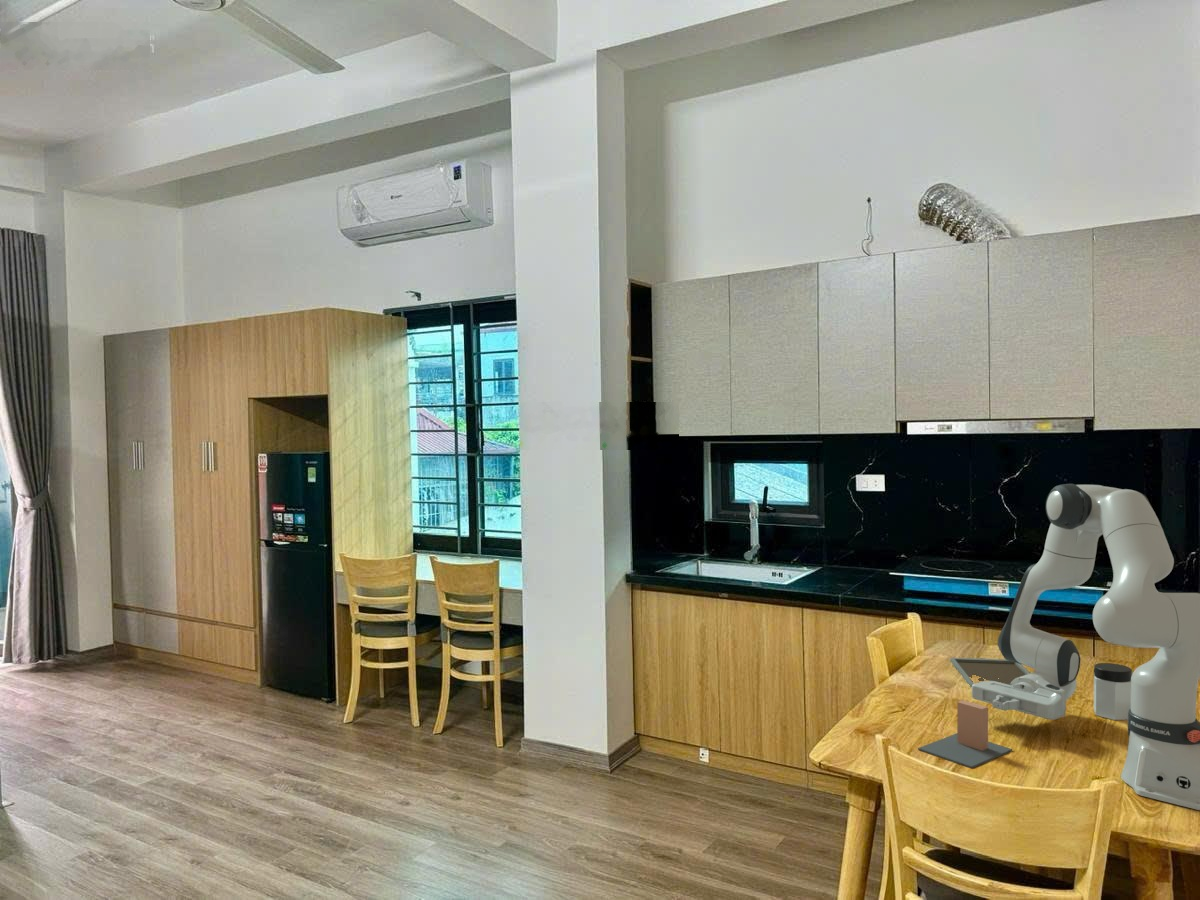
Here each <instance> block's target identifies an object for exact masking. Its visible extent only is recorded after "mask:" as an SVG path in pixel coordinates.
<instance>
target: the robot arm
mask: <svg viewBox="0 0 1200 900" xmlns="http://www.w3.org/2000/svg"><path fill="white" fill-rule="evenodd" d="M1045 513H1046V516H1047V518H1048V520H1049V522H1050V524H1049V528H1048V531H1047V534H1046V539H1045V543H1044V549H1043V552H1042V555H1041V557H1040V559H1039V560H1038V562H1037V563H1033V564H1031V565H1029V566H1028V568H1027V569H1026V570H1025V572H1024V573H1023V576H1022V578H1021V581H1020V583H1019V586H1018V588H1017V592H1016V595H1015V597H1014V600H1013V603H1012V605H1011V609H1010V611H1009V614H1008V616H1007V619H1006V621H1005V623H1004V626H1003V627H1002V629H1001V631H1000V633H999V634H998V639H997V647H998V650H999V651H1000V653H1001V655H1002V657H1004V659H1006V660H1008V661H1012V662H1015V663H1019V664H1022V665H1023V666H1026V667H1030V668H1032V669H1034V671H1033V672H1030V673H1031V674H1027V675H1024V676H1021V677H1018V678H1016V679H1014V680H1013V681H1012V682H1011V684H1010V685H1008V684H1004V683H1000V682H996V681H982V682H978V683H974V684H972V688H971V697H972V698H973V699H974V700H975V701H980V702H984V703H988V704H990V705H992V708H993V709H994V708H995V709H998V710H1001V711H1005V712H1006V711H1008V710H1009V711H1011V710H1012V711H1017V712H1020V713H1023V714H1026V715H1027V714H1028V715H1032V716H1035V717H1039V718H1042V719H1046V720H1053V721H1054V720H1057V719H1061V718H1063V717H1065V716H1066V710H1067V700H1069V699H1070V698H1071V697H1072V696H1073V694H1074V693H1075V692H1076V689H1077V684H1078V683H1077V682H1078V681H1077V678H1078V675H1079V671H1080V667H1081V655H1080V652H1079V651H1078V650H1079V649H1078V647H1077V645H1076V644H1075V643H1074V642H1073V641H1072V640H1071V639H1068V638H1065V637H1062V636H1060V635H1056V634H1054V633H1050V632H1047V631H1044V630H1041V629H1038V628H1035V627H1033V626H1032V625H1031V622H1030V621H1031V619H1032V615H1033V613H1034V610H1035V607H1036V605H1037V602H1038V599H1039V597H1040V595H1041V594H1042V593H1044V592H1045V591H1051V590H1064V589H1065V590H1066V589H1070V588H1071V589H1072V588H1075V587H1079V586H1081V585H1083V584H1085V582H1087V581H1088V580H1089V579H1091V576H1092V574H1093V571H1094V567H1095V561H1096V555H1097V549H1098V542H1099V538H1100V537H1101V536H1103V540H1104V542H1105V546H1106V548H1107V549H1106V550H1107V551H1108V555H1109V559H1110V564H1111V567H1112V573H1113V574H1112V575H1113V577H1112V583H1111V586H1110V588H1109V589H1108V591H1107V592H1106V593H1105V594H1104V595H1103V596H1101V597H1100V598H1099V599H1098V600H1097V602H1096V603H1095V605H1094V608H1093V610H1092V623H1093V627H1094V629H1095V630H1096V633H1098V635H1099V636H1100V638H1101V639H1102V640H1103V641H1105V642H1106V643H1109V644H1114V645H1118V646H1124V647H1128V648H1144V649H1145V648H1153V649H1158V650H1157V652H1156V654H1155V655H1154V656H1153V657H1152V658H1151V659H1150V660H1148V661H1147V662H1145V663H1143V664H1140V665H1139V666H1137V667H1136V668H1135V669H1134V671H1132V676H1131V709H1129V711H1128V720H1126V721H1127V724H1126V725H1127V735H1128V736H1129V737H1128V746H1127V753H1126V756H1125V757H1126V758H1125V762H1124V765H1123V769H1122V770H1121V773H1120V777H1121V780H1122V781H1123V782H1124V783H1126V784H1127V785H1129V786H1130V787H1131V788H1132V789H1133V791H1134V792H1135V793H1136V795H1139V796H1142V797H1144V798H1145V797H1146V798H1148V799H1149V798H1150V799H1154V800H1157V801H1162V802H1165V803H1169V804H1173V805H1177V806H1181V807H1185V808H1190V809H1193V810H1197V811H1200V721H1199V720H1198V719H1197V718H1196V714H1197V713H1196V711H1197V697H1198V696H1197V695H1198V685H1199V680H1200V593H1198V592H1161V591H1158V590H1157V588H1156V586H1155V585H1156V583H1158V582H1160V581H1162V580H1163V579H1165V578H1166V577H1167V576H1168V575H1170V573H1171V572H1172V570H1173V568H1174V564H1175V559H1174V556H1173V553H1172V551H1171V549H1170V545H1169V543H1168V540H1167V537H1166V535H1165V532H1164V529H1163V527H1162V525H1161V522H1160V520H1159V518H1158V516H1157V515H1156V511H1154V509H1153V507H1152V505H1151V503H1150V501H1149V498H1148V497H1147V496H1146V495H1145V494H1143V493H1141V492H1139V491H1137V490H1133V489H1128V488H1124V489H1122V488H1117V487H1113V486H1111V487H1110V486H1104V485H1100V484H1074V483H1066V484H1065V483H1063V484H1059V485H1056V486H1054V487H1053V488H1052V489H1051V490H1050V492H1049V493H1048V495H1047V496H1046V499H1045Z"/></svg>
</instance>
